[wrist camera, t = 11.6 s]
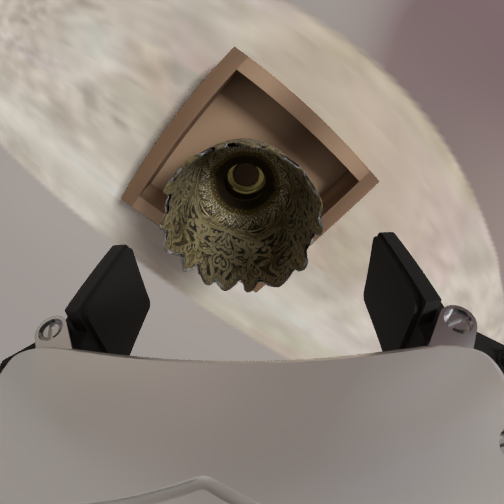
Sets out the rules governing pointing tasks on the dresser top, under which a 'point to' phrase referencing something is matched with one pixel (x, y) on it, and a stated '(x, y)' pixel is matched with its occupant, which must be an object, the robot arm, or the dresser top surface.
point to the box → (252, 127)
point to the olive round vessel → (241, 215)
